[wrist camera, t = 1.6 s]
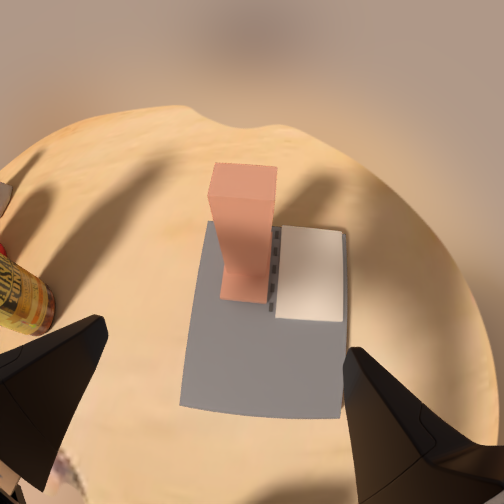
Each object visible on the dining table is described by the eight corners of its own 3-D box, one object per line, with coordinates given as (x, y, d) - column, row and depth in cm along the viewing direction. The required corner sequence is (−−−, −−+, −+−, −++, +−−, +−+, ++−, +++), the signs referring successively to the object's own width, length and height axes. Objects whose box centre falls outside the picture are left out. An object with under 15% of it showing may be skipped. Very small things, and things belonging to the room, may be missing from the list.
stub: (230, 231, 24) (216, 135, 14) (272, 235, 24) (284, 139, 13) (220, 299, 21) (191, 234, 11) (266, 304, 21) (279, 243, 11)
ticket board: (209, 227, 25) (207, 218, 24) (341, 239, 25) (346, 231, 23) (183, 403, 19) (178, 406, 18) (335, 415, 19) (341, 419, 17)
